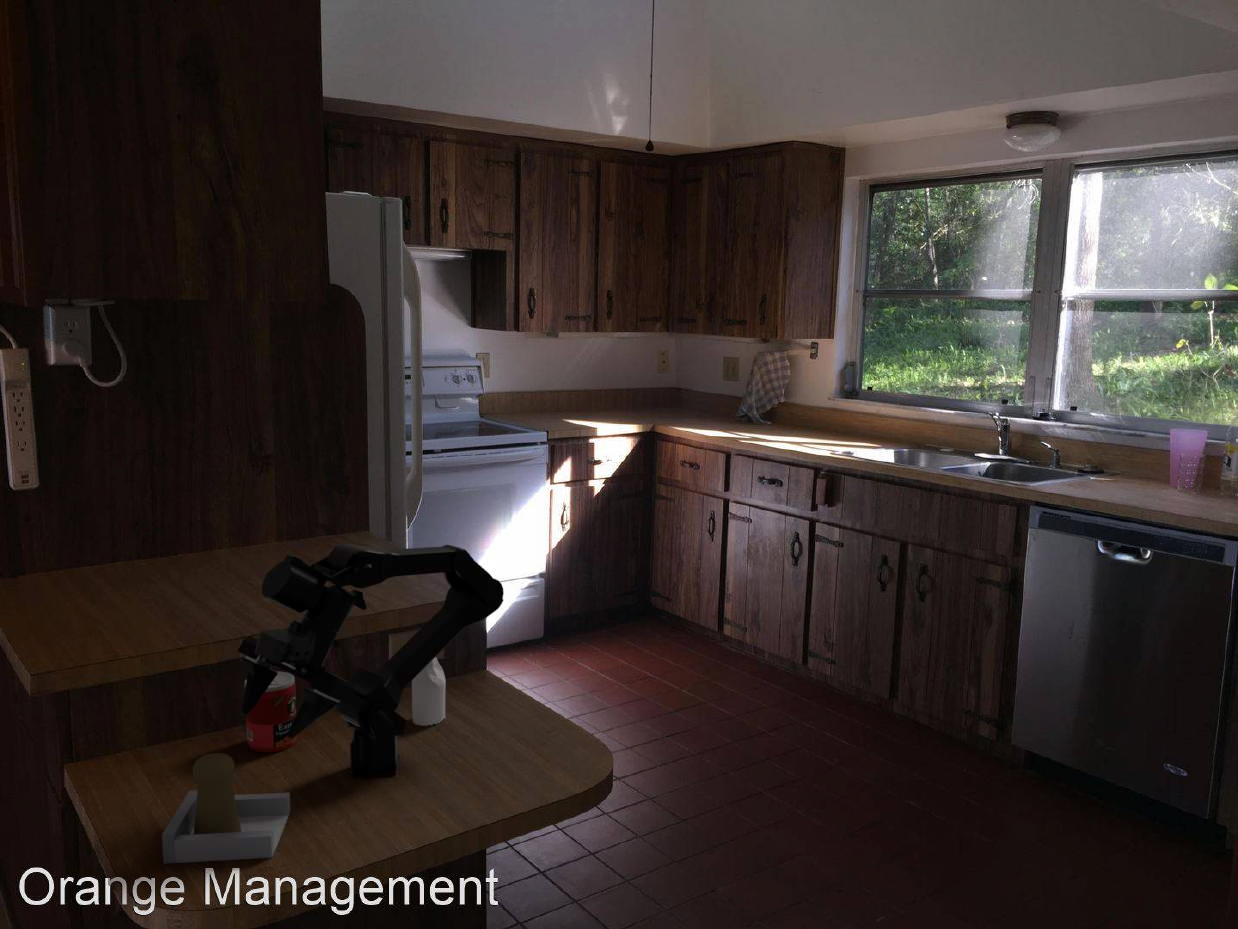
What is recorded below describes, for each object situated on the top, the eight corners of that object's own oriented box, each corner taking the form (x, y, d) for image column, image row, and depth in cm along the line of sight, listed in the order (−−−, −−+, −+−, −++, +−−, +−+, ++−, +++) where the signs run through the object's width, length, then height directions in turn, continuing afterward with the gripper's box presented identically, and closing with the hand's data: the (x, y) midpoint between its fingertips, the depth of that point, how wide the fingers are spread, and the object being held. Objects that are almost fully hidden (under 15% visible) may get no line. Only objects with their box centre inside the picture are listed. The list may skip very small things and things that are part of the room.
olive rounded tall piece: (189, 830, 137) (185, 753, 136) (236, 818, 141) (232, 744, 139) (197, 850, 132) (192, 771, 131) (245, 838, 135) (241, 761, 134)
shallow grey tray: (290, 812, 143) (289, 786, 143) (272, 857, 131) (270, 829, 131) (191, 817, 142) (189, 790, 141) (163, 863, 130) (161, 834, 129)
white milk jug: (430, 645, 178) (452, 652, 174) (432, 710, 180) (453, 718, 176) (403, 654, 173) (425, 662, 170) (405, 721, 175) (426, 729, 172)
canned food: (282, 755, 161) (279, 690, 160) (237, 750, 163) (233, 685, 161) (306, 735, 169) (303, 673, 167) (263, 731, 170) (260, 669, 169)
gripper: (241, 587, 145) (184, 688, 140) (336, 629, 136) (278, 739, 132) (288, 611, 154) (235, 707, 150) (379, 652, 146) (326, 755, 141)
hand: (266, 725), depth 143 cm, fingers open, 9 cm apart
